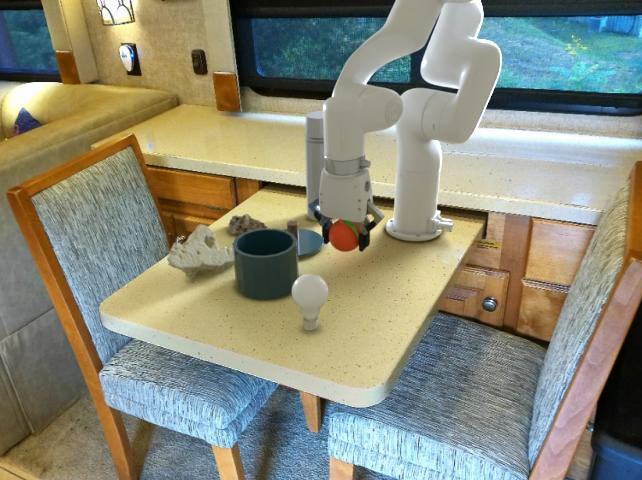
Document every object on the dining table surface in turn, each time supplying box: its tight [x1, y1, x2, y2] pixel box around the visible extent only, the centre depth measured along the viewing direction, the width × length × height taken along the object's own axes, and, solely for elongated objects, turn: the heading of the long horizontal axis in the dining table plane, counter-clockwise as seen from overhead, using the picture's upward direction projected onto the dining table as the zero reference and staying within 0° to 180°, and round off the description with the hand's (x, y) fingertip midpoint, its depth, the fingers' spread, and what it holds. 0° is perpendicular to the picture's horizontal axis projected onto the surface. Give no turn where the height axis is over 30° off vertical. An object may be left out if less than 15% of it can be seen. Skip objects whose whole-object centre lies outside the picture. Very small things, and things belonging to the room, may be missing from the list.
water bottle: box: [304, 110, 333, 222], centre depth 141 cm, size 9×8×25 cm
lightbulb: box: [291, 273, 329, 332], centre depth 104 cm, size 6×6×11 cm
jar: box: [231, 227, 300, 301], centre depth 119 cm, size 13×13×10 cm
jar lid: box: [282, 220, 325, 259], centre depth 134 cm, size 14×14×6 cm
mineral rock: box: [228, 213, 268, 236], centre depth 143 cm, size 11×4×8 cm
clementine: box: [329, 219, 361, 253], centre depth 123 cm, size 8×7×7 cm
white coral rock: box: [167, 223, 234, 281], centre depth 126 cm, size 15×7×15 cm
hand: (345, 244), depth 124 cm, fingers closed on clementine, 7 cm apart
